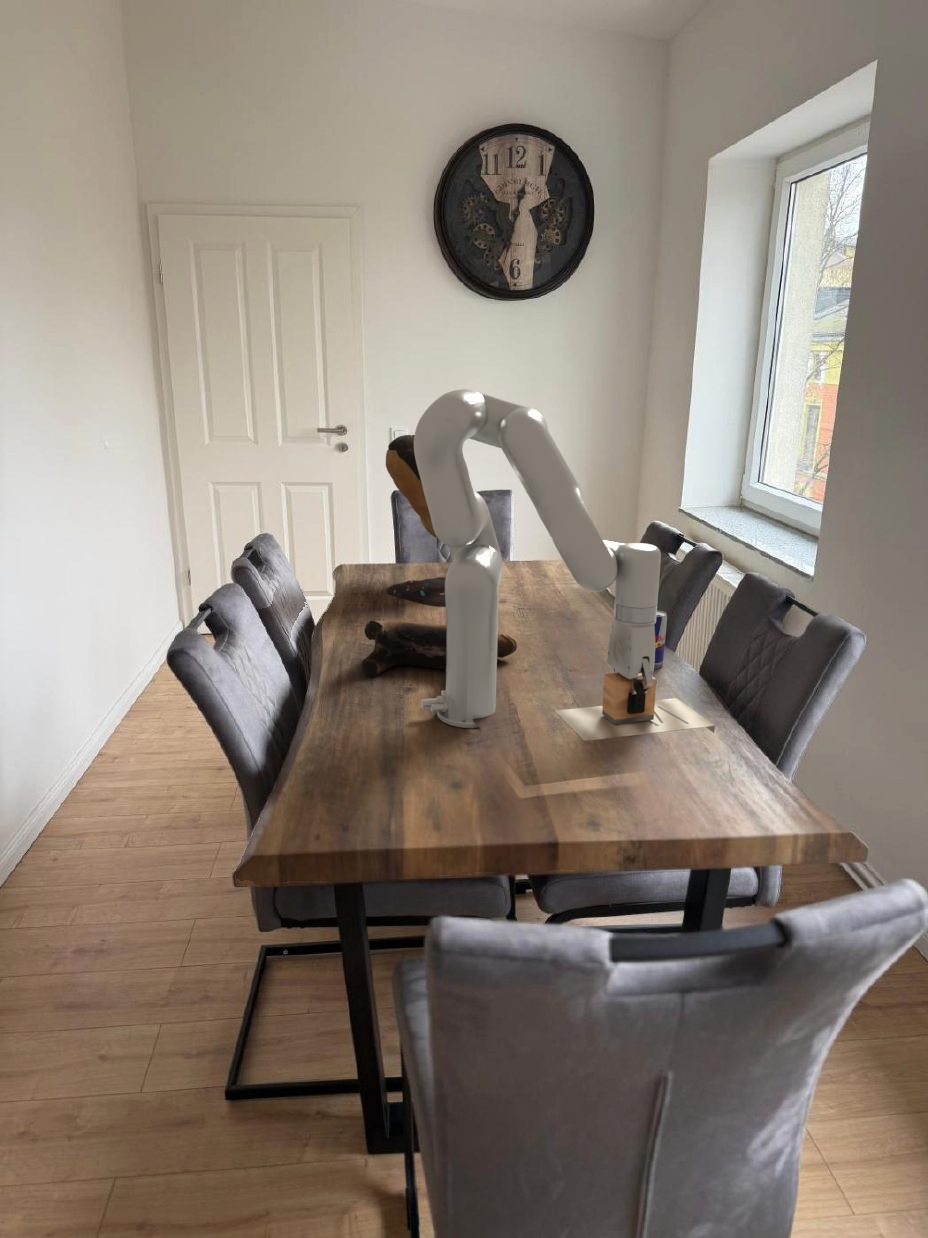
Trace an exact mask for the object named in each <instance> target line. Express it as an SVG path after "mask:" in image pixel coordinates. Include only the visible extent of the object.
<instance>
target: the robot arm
mask: <svg viewBox="0 0 928 1238" xmlns="http://www.w3.org/2000/svg"><path fill="white" fill-rule="evenodd" d="M414 435H415V436H414V453H415V459H416V463H417V467H418V471H419V475H420V478H421V482H422V486H423V490H424V494H425V498H426V502H427V505H428V509H429V512H430V516H431V520H432V525H433V529H434V531H435V534H436V536H437V537H438V538H437V539H438V540H439V541H440V542H441V543H442V544H444V545H445V546H446V547H448V551H449V554H450V557H451V561H452V562H451V564H450V565H449V567H448V570H447V573H446V575H445V577H446V580H445V601H446V607H445V613H446V614H445V616H446V617H445V619H446V620H445V621H446V623H445V625H446V669H445V690H443V689H442V690H441V695H437V696H436V697H426V698H421V699H420V707H421V709H422V710H424V709H430V711H431V712H433V713H434V712H437V713H436V714H437V718H438V719H439V720H440V721H442V722H443V723H444V724H447V725H449V726H452V727H456V728H464V729H465V728H466V729H480V726H479V725H478V723H477V722H476V721H475V719H483V718H487V717H489V716H492V715H493V714H495V712H496V707H497V706H496V705H497V704H496V703H497V701H496V700H497V672H498V671H497V669H498V668H497V667H498V665H497V663H498V657H497V639H498V633H499V632H498V630H499V590H500V584H501V580H502V577H503V573H504V562H503V558H502V554H501V550H500V546H499V542H498V538H497V534H496V531H495V528H494V523H493V520H492V516H491V512H490V510H489V506H488V505H487V502H486V501H485V499H484V497H482V495H480V494H479V492H476V490H475V491H474V488H473V486H472V482H471V477H470V474H469V473H470V472H469V469H468V466H467V463H466V460H465V457H464V454H463V449H464V444H465V441H467V440H468V439H470V440H472V441H475V442H479V443H482V444H486V445H489V446H492V447H495V448H498V449H501V451H502V452H503V454H504V455H505V458H506V459H507V461H508V462H509V464H510V466H511V468H512V469H513V472H514V473H515V474H516V477H517V478H518V479H519V481H520V484H521V485H522V486H523V488H524V490H525V492H526V494H527V495H528V497H529V499H530V501H531V503H532V505H533V507H534V508H535V509H536V512H537V514H538V517H539V518H540V521H541V522H542V523H543V526H544V527H545V529H546V531H547V533H548V534H549V536H550V538H551V540H552V543H553V545H554V546H555V549H556V550H557V552H558V553H559V555H560V557H561V559H562V560H563V562H564V564H565V566H566V567H567V570H568V571H569V572H570V574H571V576H572V577H573V579H574V580H575V582H576V583H577V584H578V585H579V587H581V588H582V589H584V590H586V591H589V592H593V593H596V592H597V593H598V592H603V591H605V590H607V589H608V588H610V587H611V586H612V585H613V583H615V592H614V605H613V606H614V607H613V608H614V609H613V618H612V622H611V626H610V633H609V639H608V640H609V641H608V647H607V664H608V665H609V667H610V668H612V669H613V673H620V674H621V675H623V676H624V677H626V678H627V679H630V685H631V693H629V695H628V709H627V712H628V713H629V714H636V713H643V712H644V711H645V698H646V693H647V691H648V689H649V687H650V686H652V685H653V678H652V676H653V675H654V672H655V671H654V670H655V668H654V662H655V627H654V624H655V623H656V615H657V611H658V598H659V588H660V577H661V576H660V573H661V562H662V560H661V559H662V553H661V550H660V548H659V547H657V546H656V545H654V544H650V543H646V542H645V543H642V542H631V543H622V542H615V541H611V540H610V541H609V540H607V539H603V538H602V536H601V534H600V533H599V531H598V529H597V528H596V526H595V524H594V521H593V520H592V517H591V514H590V513H589V511H588V508H587V506H586V502H585V500H584V496H583V493H582V490H581V487H580V485H579V483H578V481H577V479H576V477H575V475H574V473H573V472H572V470H571V469H570V466H569V465H568V463H567V462H566V459H565V458H564V456H563V454H562V453H561V451H560V449H559V447H558V446H557V444H556V442H555V440H554V438H553V436H552V435H551V433H550V432H549V428H548V424H547V421H546V419H545V417H544V416H543V415H542V413H540V412H539V411H538V410H537V409H535V408H532V407H528V406H524V405H521V404H517V403H514V402H510V401H507V400H504V399H501V398H498V397H495V396H491V395H488V394H485V393H482V392H479V391H476V390H473V389H467V388H465V389H464V388H463V389H456V390H451V391H449V392H445V393H444V394H442V395H441V396H439V397H438V398H436V399H435V400H434V401H433V402H432V403H431V404H430V405H429V406H428V407H427V408H426V409H425V411H424V412H423V413H422V415H421V417H420V418H419V420H418V422H417V425H416V428H415V431H414ZM639 673H642V676H637V675H638V674H639ZM636 680H641V683H638V684H637V685H636Z"/></svg>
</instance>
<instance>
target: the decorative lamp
mask: <svg viewBox="0 0 928 1238" xmlns="http://www.w3.org/2000/svg"><path fill="white" fill-rule="evenodd" d="M414 436H415V434H403V435H400V436H397V437H396V438H394V439H393V440H392V441H391V442H390V443H389V444H388V446H387V448H388V449H387V451H386V453H385V468H386V471H387V472H388V474H389V476H390V478H391V479H392V480H393V483H394V485H395V487H396V488H397V490H399V492H400V493H401V494H402V495H403V496H404V497H405V498H406V499H407V501H408V503H409V504H410V506H411V508H412V509H413V511H414V512H415V513H416V514H417V515H418V516H419V519H420V521H421V524H422V526H423V528H424V529H425V530H426V531H427V532H428V533H429V534H430V535H431V536H432V537H434V538H435V539H438V537H437V536H436V534H435V531H434V529H433V525H432V520H431V516H430V512H429V509H428V505H427V502H426V498H425V494H424V490H423V486H422V482H421V478H420V475H419V471H418V467H417V463H416V459H415V453H414ZM445 580H446V576H445V577H440V576H438V577H434V578H425V579H421V580H413V579H412V580H407V581H404V582H400V583H397V584H392V585H390V586H388V587H387V588H386V594H387V595H390V596H394V597H397V598H399V599H402V600H403V599H404V600H407V601H410V602H416V603H419V604H422V605H427V606H430V607H439V608H442V607H443V608H446V601H445Z"/></svg>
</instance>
